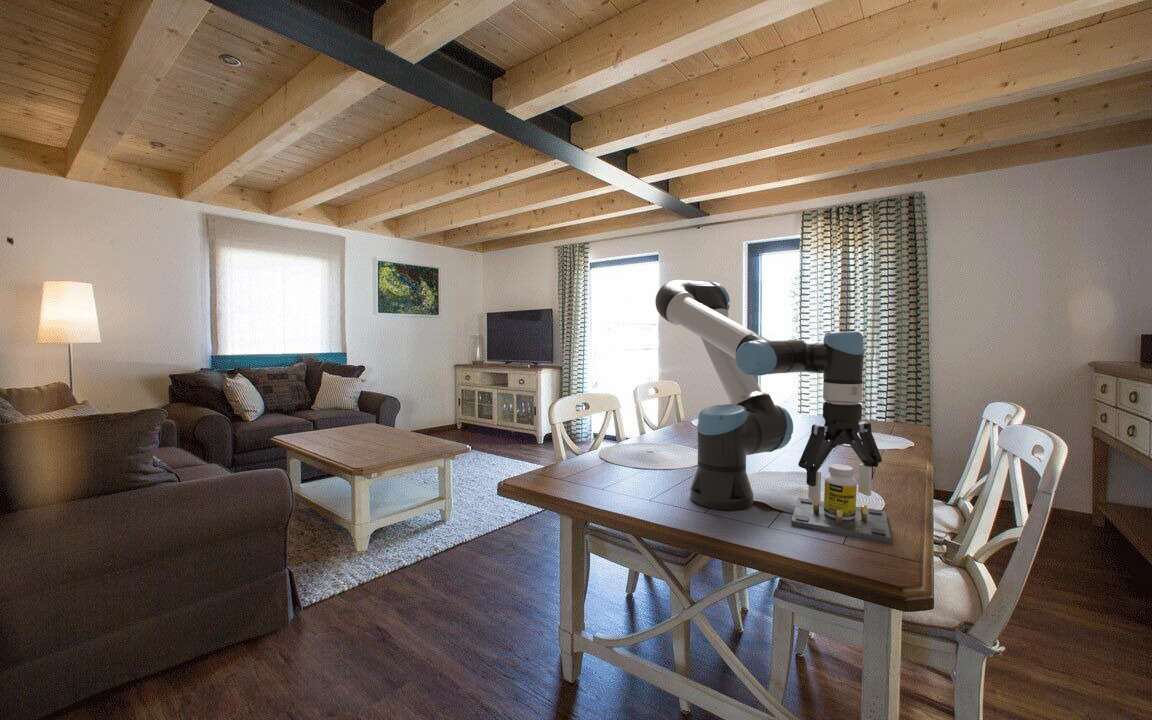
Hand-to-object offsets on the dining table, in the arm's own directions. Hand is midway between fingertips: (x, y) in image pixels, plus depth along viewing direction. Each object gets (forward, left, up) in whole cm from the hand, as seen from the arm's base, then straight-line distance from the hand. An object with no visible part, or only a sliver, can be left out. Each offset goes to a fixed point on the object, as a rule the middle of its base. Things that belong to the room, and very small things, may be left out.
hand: (839, 497), depth 104 cm
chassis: (0, 0, -5) cm, 5 cm away
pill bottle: (0, 0, -4) cm, 4 cm away
